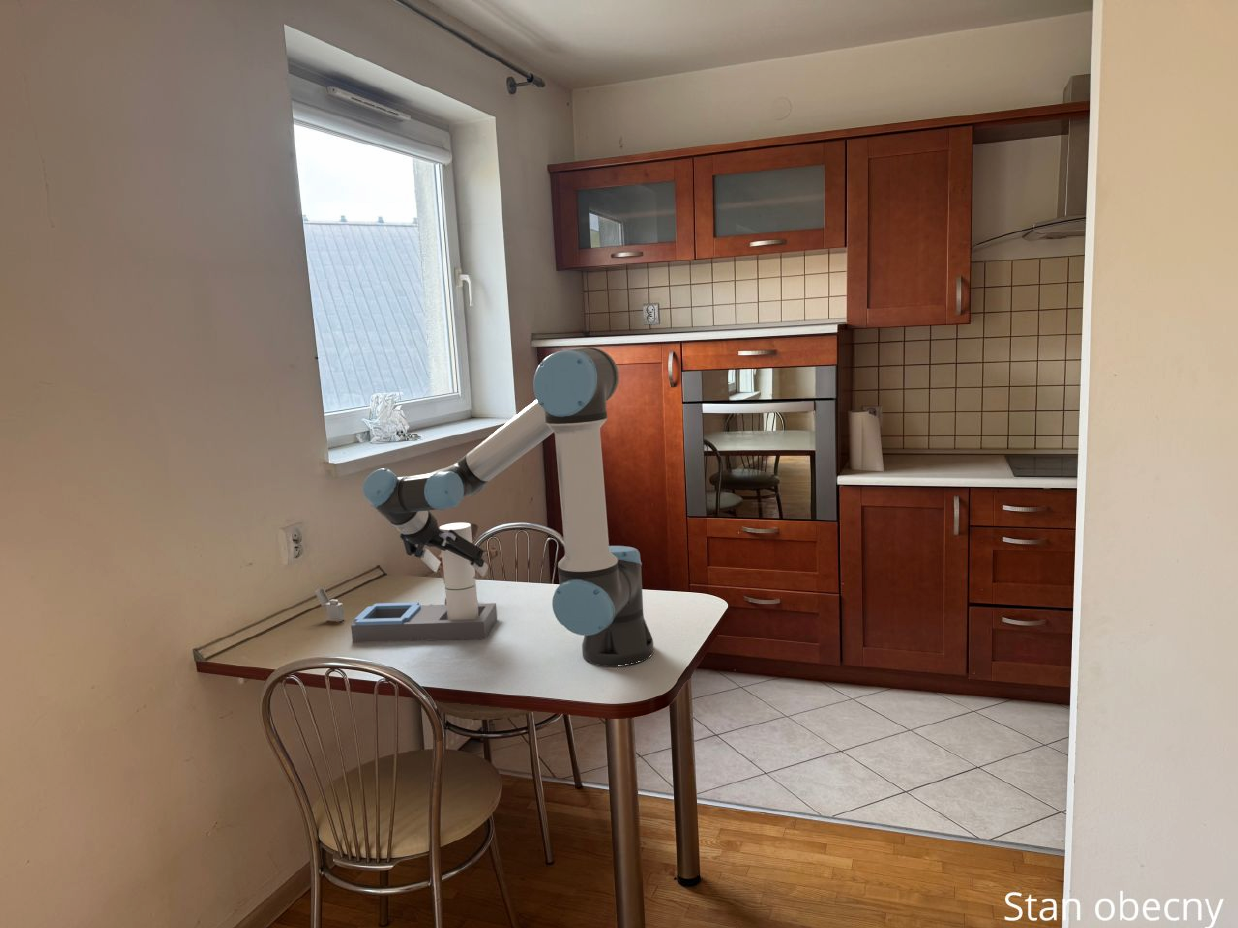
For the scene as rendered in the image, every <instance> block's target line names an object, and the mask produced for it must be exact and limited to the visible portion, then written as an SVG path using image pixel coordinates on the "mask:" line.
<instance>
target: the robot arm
mask: <svg viewBox="0 0 1238 928" xmlns="http://www.w3.org/2000/svg"><path fill="white" fill-rule="evenodd" d="M619 383H620V372H619V368H618V365H617V364H616V361H615V360H614V359H613V357H612V356H611V355H610V354H609V353H607V352H606V351H605V350H602V349H600V348H597V347H591V346H590V347H589V346H588V347H581V348H566V349H561V350H558V351H556V352H553V353H552V354H550V355H548V356H546V357H545V358H544V359H543V360H542V361H541V362H540V363H539V364H538V366H537V368H536V370H535V373H534V376H533V382H532V389H533V394H534V397H535V400H533V402H532V403H530V404H529V405H527V406H526V407H525V408H523V409H522V410H521V411H519V413H518V414H516V415H514V416H513V417H512V418H511V419H509V420H508V421H507V422H505V424H504V425H502V426H501V427H499V428H497V430H495V432H494V433H492V434H490V435H489V436H488V437H487V438H485V439H484V440H483V441H482V442H480V443H479V444H478V445H477V446H476V447H474V448H473V449H471V450H470V451H469V452H468V453H467V454H466V455H464V456H463V457H461V458H460V459H459V460H458V461H456V462H455V463H453V464H452V465H449V466H446V467H443V468H439V469H437V470H434V471H431V472H429V473H424V474H423V473H422V474H416V475H415V474H414V475H405V476H398V475H397V474H396V473H394V472H393V471H392V470H391V469H389V468H379V469H376V470H374V471H372V472H371V473H370V474H368V476H366V478H365V480H364V481H363V484H362V488H361V490H362V494H363V497H364V498H365V499H366V500H367V502H368V503H370V505H371V506H372V507H373V508H374V509H376V510H377V512H379V513H380V514H381V516H383V517H384V518H385V519H386V520H387V522H389V523H390V524H391V525H392V526H394V528H396V530H397V532H398V533H401V534H400V535H399V537H400V539H401V540H402V541H403V545H404V548H405V552H406V554H407V556H410V557H411V556H412V555H414V557H415V558H418V559H420V560H421V561H422V562H423V563H424V564H425V565H426V566H427V567H429V569H430V570H432V572H434V573H437V572H438V570H439V569H440V563H441V562H440V561H439V558H437V557H436V556H435V555H434V554H433V552H431V551H430V549H428V548H425V546H427V547H430V548H437V549H439V550H441V551H442V550H443V551H446V550H448V551H450V552H452V553H454V554H457V555H459V556H461V557H463V558H465V559H467V560H469V563H470V565H471V566H472V567H473V568H474V569H475V572H477V573H478V574H479V575H480V576H481V577H482V578H483V577H485V576H486V574H487V572H488V568H489V565H488V564H487V563H486V562H485V560H484V559H483V558H482V557H483V555H484V553H485V550H483V549H482V548H480V547H479V546H478V545H475V544H474V543H473V542H472V543H471V542H469V541H467V540H466V539H464V538H462V537H461V536H459V535H458V534H457V533H456V532H455V531H453V530H449V532H448V533H444V532H443V531H442V530H440V527H439V524H438V520H437V518H436V517H435V515H433V513H432V512H430V511H436V510H439V511H445V510H446V509H450V508H451V509H452V508H455V507H456V508H457V507H459V505H460V504H461V502H462V500H463V499H465V498H467V497H471V496H474V495H476V494H477V493H479V492H480V491H482V490H483V489H484V488H485V486H486V485H487V484H488V482H490V481H491V480H492V479H494V478H495V477H497V475H499V474H500V473H502V472H503V471H504V470H505V469H507V468H508V467H510V466H511V465H512V464H514V463H515V462H516V461H517V460H519V459H520V458H521V457H523V456H524V455H525V454H527V453H528V452H529V451H531V450H532V449H534V448H535V447H536V446H537V445H539V444H540V443H541V442H543V441H544V440H545V439H547V438H548V437H549V436H550V435H552V434H553V433H554V440H555V452H556V461H557V462H556V463H557V473H558V474H557V475H558V485H559V486H558V487H559V488H558V489H559V497H560V498H559V499H560V509H561V510H560V511H561V521H562V522H561V523H562V534H563V535H562V536H563V547H564V548H563V549H564V556H563V557H562V558H561V559H560V560H559V561H558V562H557V564H558V565H557V568H558V579H559V581H558V582H559V585H558V587H557V588H556V590H555V591H554V594H553V596H552V604H551V605H552V611H553V613H554V616H555V618H556V619H557V621H558V622H559V624H560V625H561V626H563V627H564V628H565V629H566V630H568V631H569V632H570V633H572V634H575V635H578V636H584V637H583V640H582V644H581V645H582V646H581V650H582V658H583V659H584V660H586V661H587V662H588V663H590V662H591V664H593V663H594V664H593V665H596V664H598V665H597V666H602V665H606V666H605V667H619V666H618V665H625V664H631V663H636V662H638V661H642V660H644V659H646V658H648V657H649V656H650V655H651V654H652V653H653V654H654V652H653V651H654V640H653V636H652V634H651V632H650V629H649V627H648V624H647V621H646V620H645V617H644V615H645V614H644V600H643V577H642V566H643V563H642V561H641V553H640V551H639V550H638V549H637V548H635V547H632V546H624V545H610V543H609V529H608V527H609V526H608V518H607V517H608V515H607V503H606V490H605V478H604V477H605V476H604V475H605V474H604V463H603V453H602V439H601V428H602V426H603V425H604V424H605V423H606V422H607V420H608V412H607V411H608V410H607V409H608V408H607V401H609V400H610V399H611V398H612V397H613V396H614V394H615V393H616V391H617V389H618V386H619ZM444 539H445V540H446V543H445V545H444V546H442V544H443V542H444ZM416 545H417V546H416ZM653 654H652V655H653ZM649 658H650V657H649ZM649 658H648V659H649ZM646 660H647V659H646ZM644 661H645V660H644ZM642 662H643V661H642ZM636 664H637V663H636Z"/></svg>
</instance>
